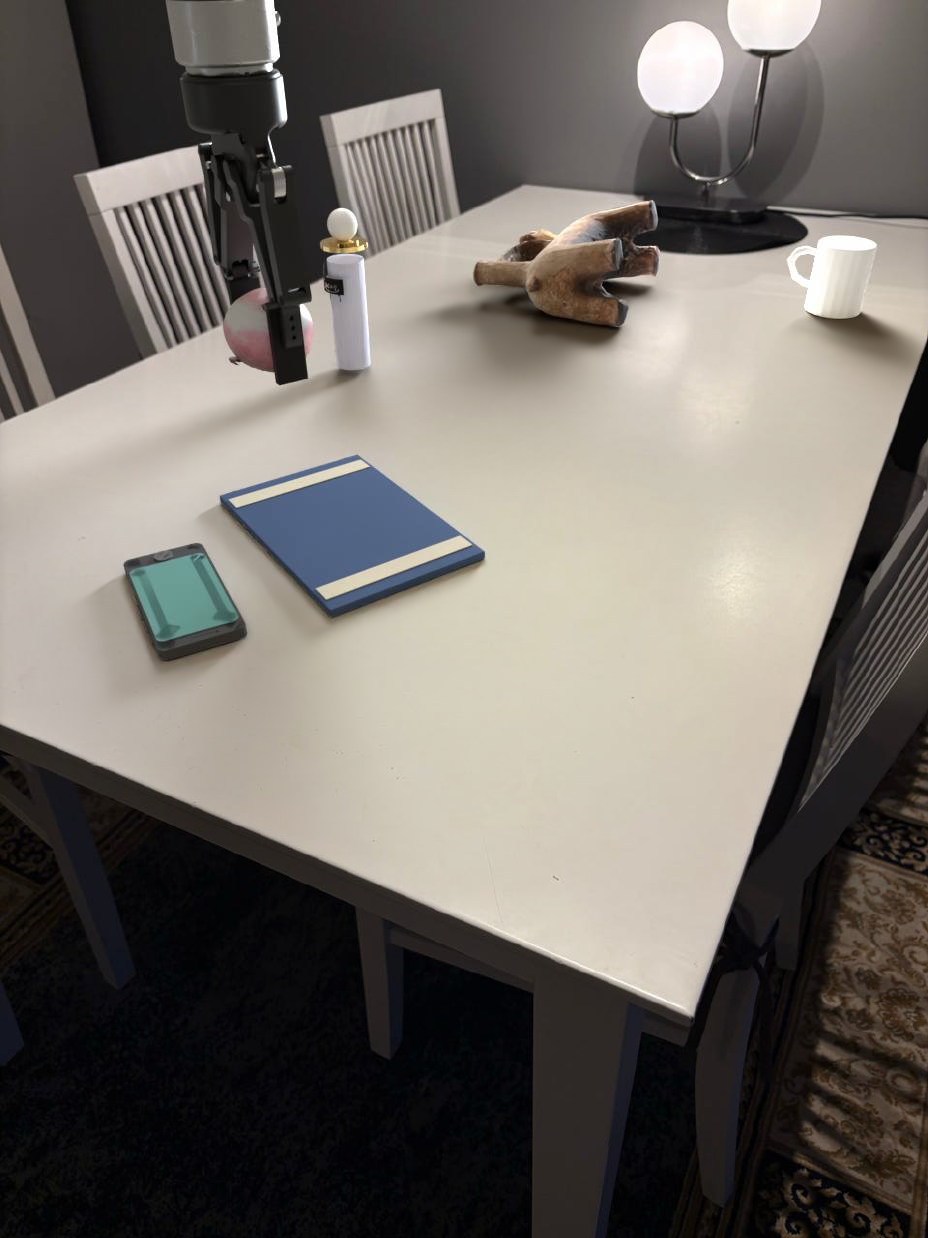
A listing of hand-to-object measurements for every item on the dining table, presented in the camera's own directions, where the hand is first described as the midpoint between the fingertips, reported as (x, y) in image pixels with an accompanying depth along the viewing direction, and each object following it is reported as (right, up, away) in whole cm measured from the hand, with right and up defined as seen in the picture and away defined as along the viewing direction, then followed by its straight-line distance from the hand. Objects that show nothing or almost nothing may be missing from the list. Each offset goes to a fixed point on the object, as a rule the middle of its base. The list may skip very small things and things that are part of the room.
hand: (272, 364), depth 81 cm
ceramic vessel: (+33, +29, +65) cm, 78 cm away
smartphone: (-7, -21, -2) cm, 23 cm away
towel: (+6, -14, +7) cm, 17 cm away
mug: (+71, +25, +58) cm, 95 cm away
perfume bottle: (+2, +10, +40) cm, 41 cm away
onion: (0, 0, 0) cm, 0 cm away
